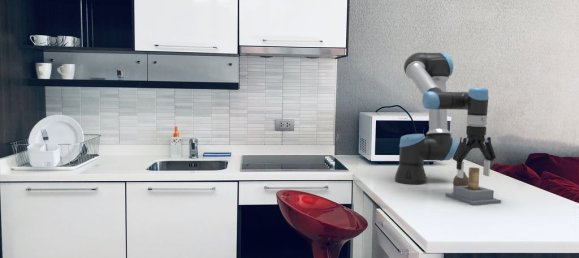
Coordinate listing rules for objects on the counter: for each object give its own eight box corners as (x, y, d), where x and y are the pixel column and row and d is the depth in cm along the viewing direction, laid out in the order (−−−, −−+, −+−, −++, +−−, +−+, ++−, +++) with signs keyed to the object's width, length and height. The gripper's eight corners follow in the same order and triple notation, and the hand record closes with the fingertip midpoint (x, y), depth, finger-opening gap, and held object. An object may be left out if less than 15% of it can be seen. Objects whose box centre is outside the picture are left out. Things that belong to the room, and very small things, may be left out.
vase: (449, 189, 205) (450, 170, 204) (461, 188, 207) (462, 170, 206) (460, 193, 198) (461, 173, 198) (472, 192, 201) (473, 172, 200)
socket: (445, 196, 191) (446, 185, 191) (472, 194, 196) (472, 183, 196) (473, 205, 176) (473, 193, 176) (500, 203, 181) (501, 191, 181)
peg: (465, 195, 187) (466, 167, 186) (473, 195, 189) (474, 167, 188) (472, 198, 184) (473, 169, 183) (480, 197, 185) (481, 168, 184)
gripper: (458, 127, 176) (455, 180, 178) (507, 125, 184) (503, 176, 187) (445, 125, 183) (442, 176, 185) (493, 124, 191) (490, 173, 194)
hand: (473, 176), depth 186 cm, fingers open, 13 cm apart
